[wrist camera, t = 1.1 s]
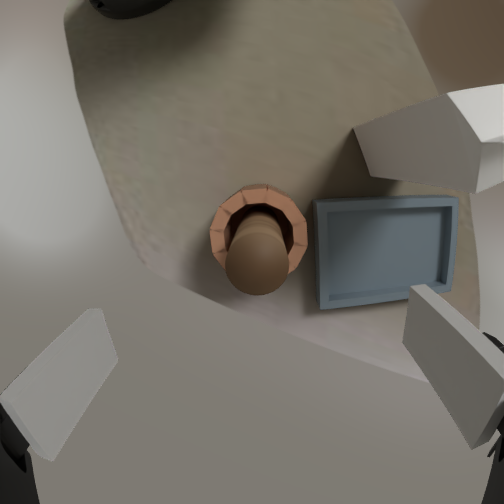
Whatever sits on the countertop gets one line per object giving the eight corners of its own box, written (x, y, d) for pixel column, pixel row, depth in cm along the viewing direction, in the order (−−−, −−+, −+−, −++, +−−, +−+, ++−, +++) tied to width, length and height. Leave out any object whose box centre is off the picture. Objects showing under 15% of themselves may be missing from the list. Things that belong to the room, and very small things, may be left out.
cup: (218, 188, 32) (205, 194, 25) (294, 181, 32) (303, 185, 24) (226, 261, 34) (217, 286, 27) (299, 255, 34) (309, 279, 27)
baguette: (239, 207, 32) (221, 237, 18) (276, 203, 31) (287, 231, 18) (243, 243, 33) (229, 297, 19) (279, 240, 32) (290, 292, 19)
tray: (312, 199, 32) (316, 202, 29) (446, 194, 31) (458, 197, 28) (316, 299, 35) (320, 309, 33) (440, 283, 34) (450, 291, 32)
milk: (411, 162, 30) (560, 178, 9) (369, 176, 31) (511, 206, 10) (394, 113, 29) (537, 77, 8) (351, 126, 30) (480, 82, 8)
